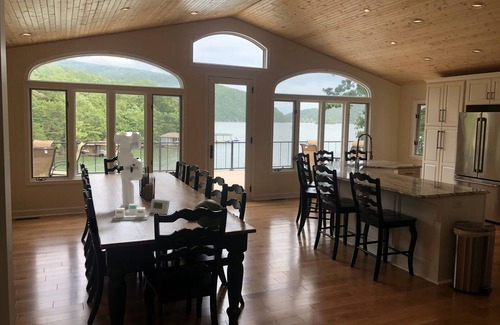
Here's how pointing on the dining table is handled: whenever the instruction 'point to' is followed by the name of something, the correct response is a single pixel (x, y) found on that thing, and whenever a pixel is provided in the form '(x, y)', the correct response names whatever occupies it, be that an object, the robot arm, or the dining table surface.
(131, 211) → the module
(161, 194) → the dining table surface
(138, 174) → the robot arm
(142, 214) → the rail panel
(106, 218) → the dining table surface
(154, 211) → the digital clock
